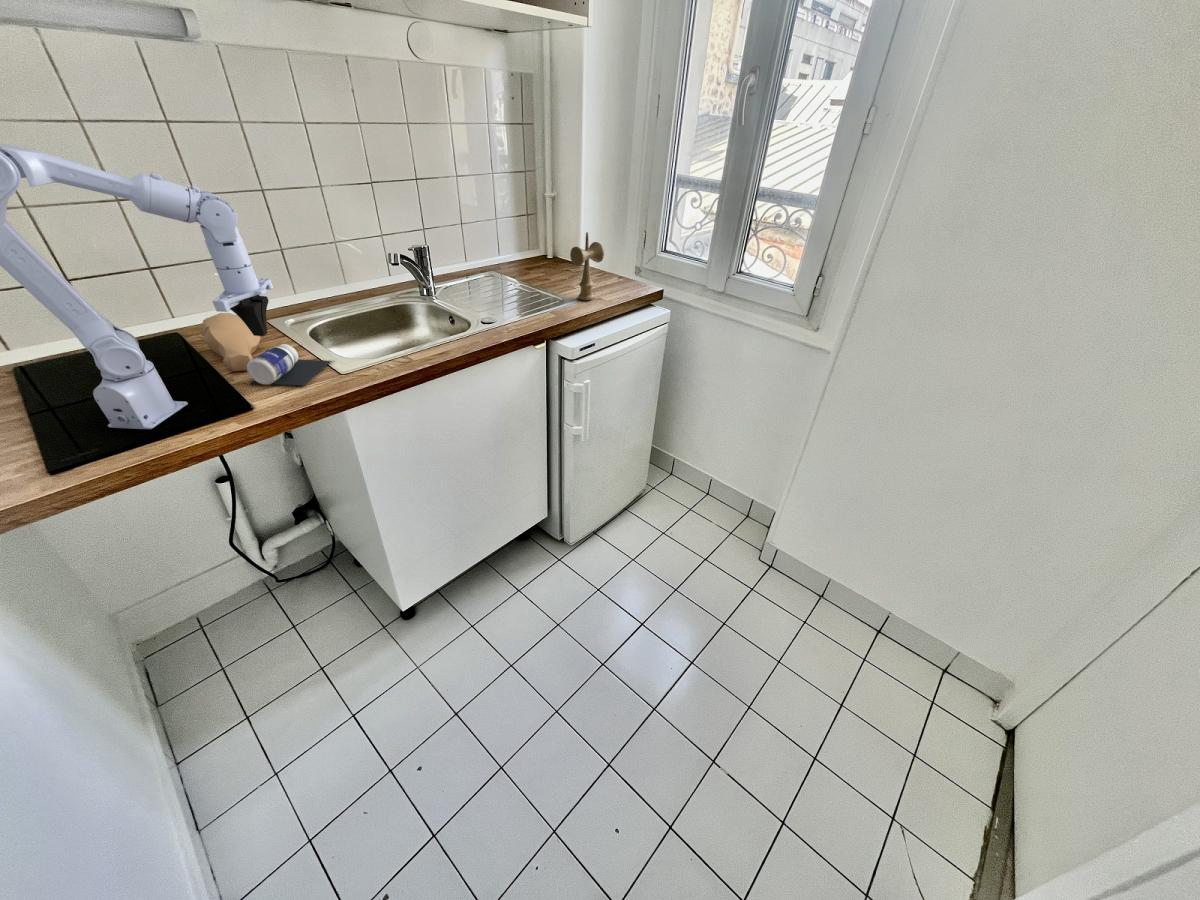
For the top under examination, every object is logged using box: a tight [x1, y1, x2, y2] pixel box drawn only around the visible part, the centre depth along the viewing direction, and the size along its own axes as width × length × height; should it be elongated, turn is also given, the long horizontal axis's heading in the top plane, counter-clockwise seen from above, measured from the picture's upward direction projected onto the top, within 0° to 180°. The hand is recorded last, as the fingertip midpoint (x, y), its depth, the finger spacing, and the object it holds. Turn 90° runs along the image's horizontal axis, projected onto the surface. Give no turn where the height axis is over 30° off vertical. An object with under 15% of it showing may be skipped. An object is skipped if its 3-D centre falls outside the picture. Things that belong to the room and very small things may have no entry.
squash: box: [200, 312, 262, 372], centre depth 111 cm, size 11×20×9 cm, turn 39°
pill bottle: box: [246, 343, 299, 386], centre depth 104 cm, size 6×6×10 cm
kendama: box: [570, 231, 605, 301], centre depth 149 cm, size 6×10×20 cm, turn 135°
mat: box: [250, 359, 331, 388], centre depth 107 cm, size 12×11×1 cm
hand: (260, 334), depth 99 cm, fingers closed
